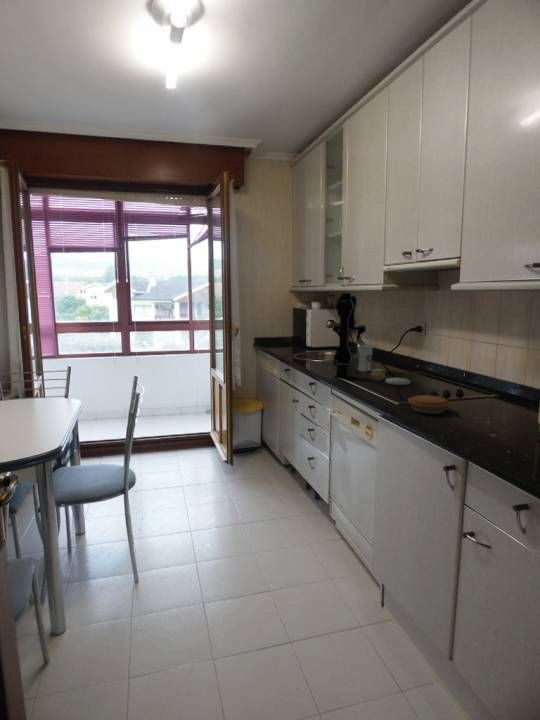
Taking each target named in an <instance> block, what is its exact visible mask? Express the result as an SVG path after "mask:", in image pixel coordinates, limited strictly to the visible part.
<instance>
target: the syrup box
mask: <svg viewBox="0 0 540 720" xmlns="http://www.w3.org/2000/svg"><path fill="white" fill-rule="evenodd" d="M357 353H358V354H357V372H364V373H367V372H371V370H372V362H373V361H372V359H373V345H369V344H368V345H367V344H363V345H358V352H357Z"/></svg>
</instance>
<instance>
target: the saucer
mask: <svg viewBox="0 0 540 720" xmlns="http://www.w3.org/2000/svg"><path fill="white" fill-rule="evenodd" d="M384 381H385V383H386V384H388V385H389V384H390V385H393V386H394V385H395V386H406V385H410V384H411V380H410V379H408V378H404V377H387V378H385V379H384Z"/></svg>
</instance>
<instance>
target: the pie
mask: <svg viewBox="0 0 540 720" xmlns="http://www.w3.org/2000/svg"><path fill="white" fill-rule="evenodd" d="M407 402H408V404H409V405H410V406H411V408H412V410H413V411H415V412H417V413H420V414H427V415H437V414H438V415H440V414H443V413H445V411H446V410H447V408H448V407H450V405H451V402H450V401H449V400H447V399H446V398H443V397H441V396H436V395H425V394H422V395H421V394H419V395H414V396H411V397H409V398H408V399H407Z"/></svg>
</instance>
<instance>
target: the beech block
mask: <svg viewBox="0 0 540 720" xmlns="http://www.w3.org/2000/svg"><path fill="white" fill-rule="evenodd" d="M385 373H386V369H383V368H371V371H370V379H371V380H376V381H382V380H385V379H386V378H385V377H386V376H385V375H386V374H385Z"/></svg>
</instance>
